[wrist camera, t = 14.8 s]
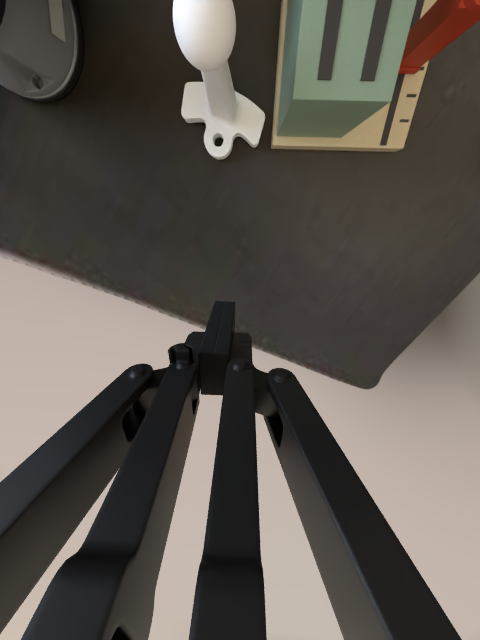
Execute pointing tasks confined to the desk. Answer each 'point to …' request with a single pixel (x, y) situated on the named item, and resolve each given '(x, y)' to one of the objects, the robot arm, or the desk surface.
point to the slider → (437, 31)
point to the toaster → (345, 75)
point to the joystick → (214, 75)
